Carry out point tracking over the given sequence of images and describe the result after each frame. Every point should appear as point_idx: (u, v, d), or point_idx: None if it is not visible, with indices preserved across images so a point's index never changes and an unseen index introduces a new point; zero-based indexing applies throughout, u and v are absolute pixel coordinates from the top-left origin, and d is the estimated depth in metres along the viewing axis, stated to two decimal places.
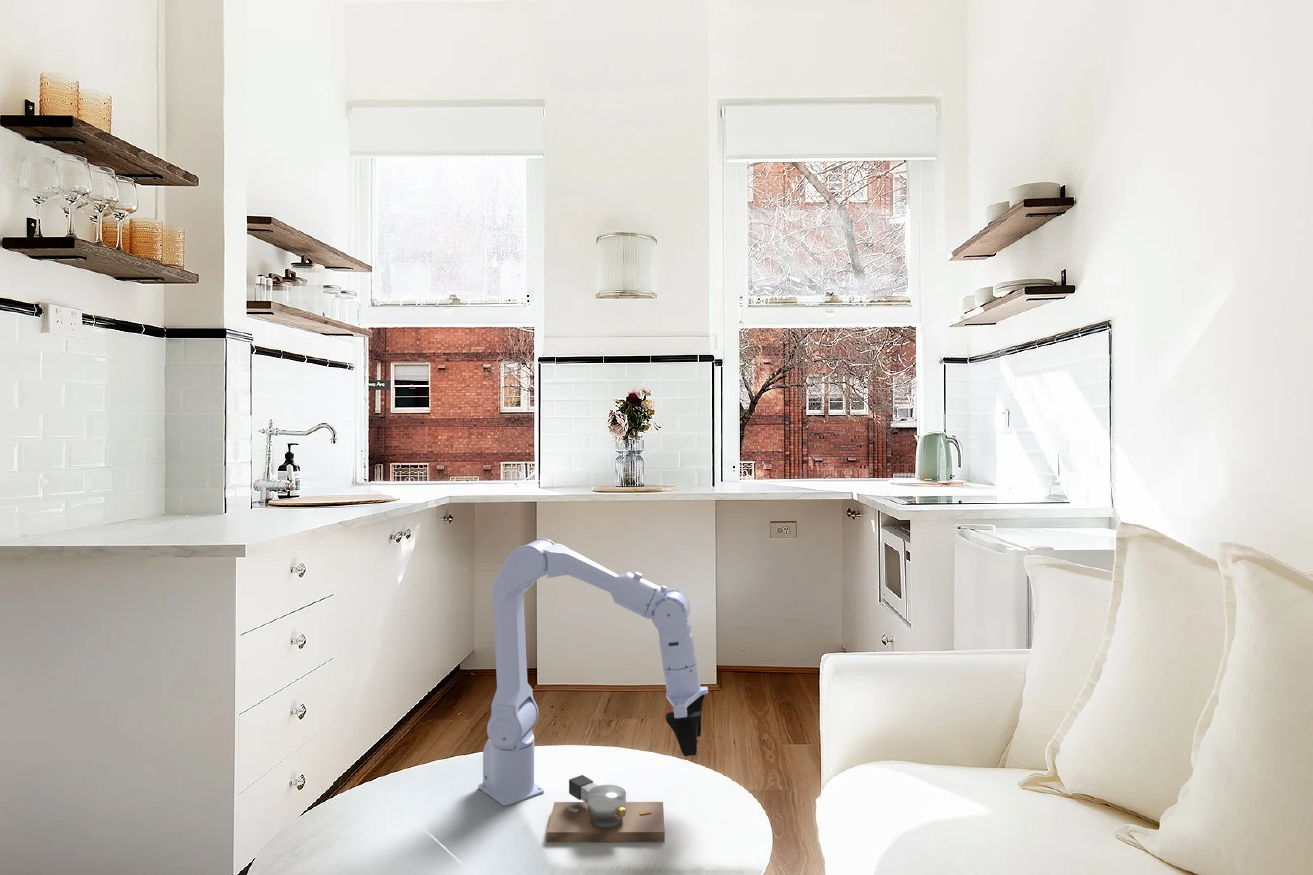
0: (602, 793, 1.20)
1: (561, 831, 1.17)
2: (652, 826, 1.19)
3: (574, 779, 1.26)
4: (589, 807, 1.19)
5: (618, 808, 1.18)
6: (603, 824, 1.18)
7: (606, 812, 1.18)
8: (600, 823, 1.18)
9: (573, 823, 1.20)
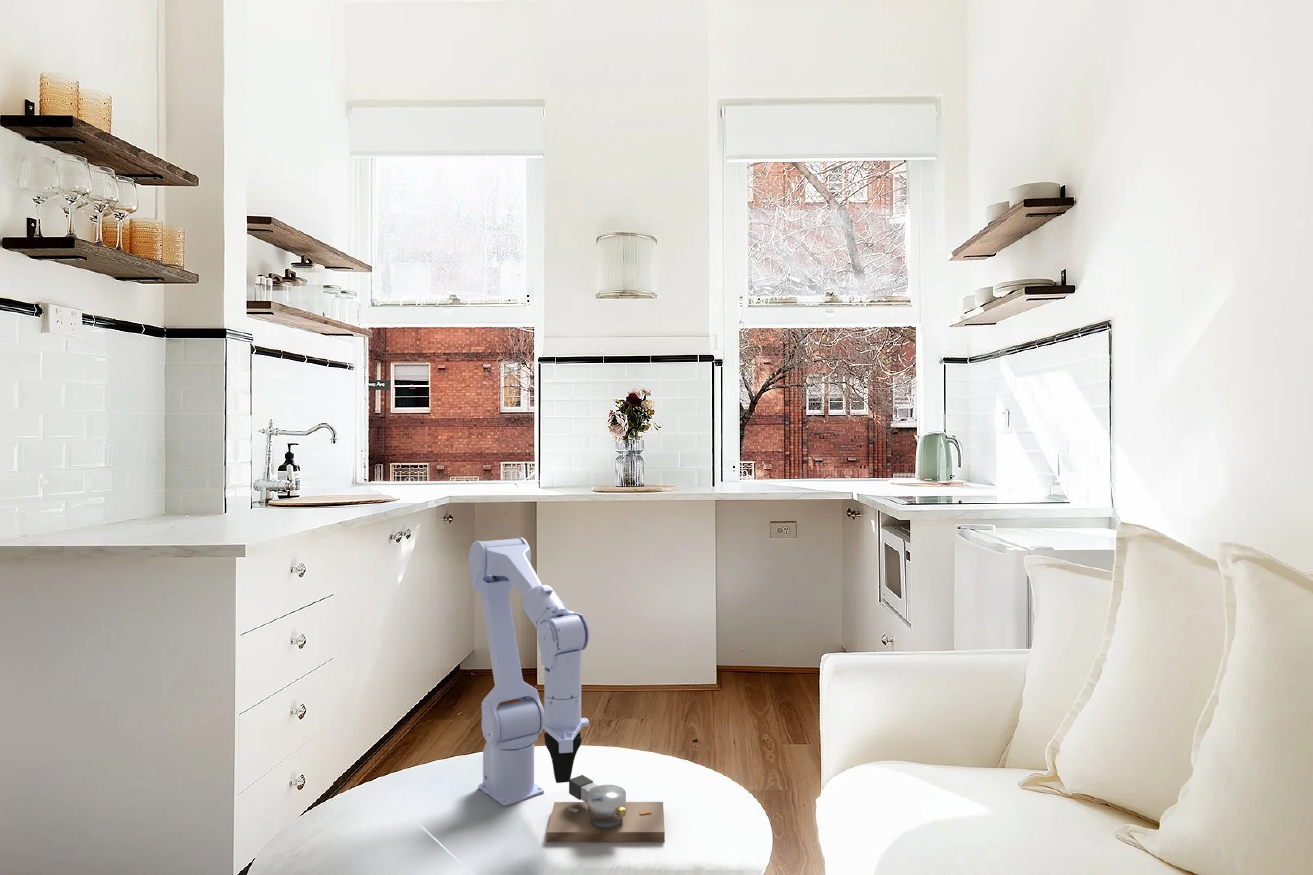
0: (602, 793, 1.20)
1: (561, 831, 1.17)
2: (652, 826, 1.19)
3: (574, 779, 1.26)
4: (589, 807, 1.19)
5: (618, 808, 1.18)
6: (603, 824, 1.18)
7: (606, 812, 1.18)
8: (600, 823, 1.18)
9: (573, 823, 1.20)
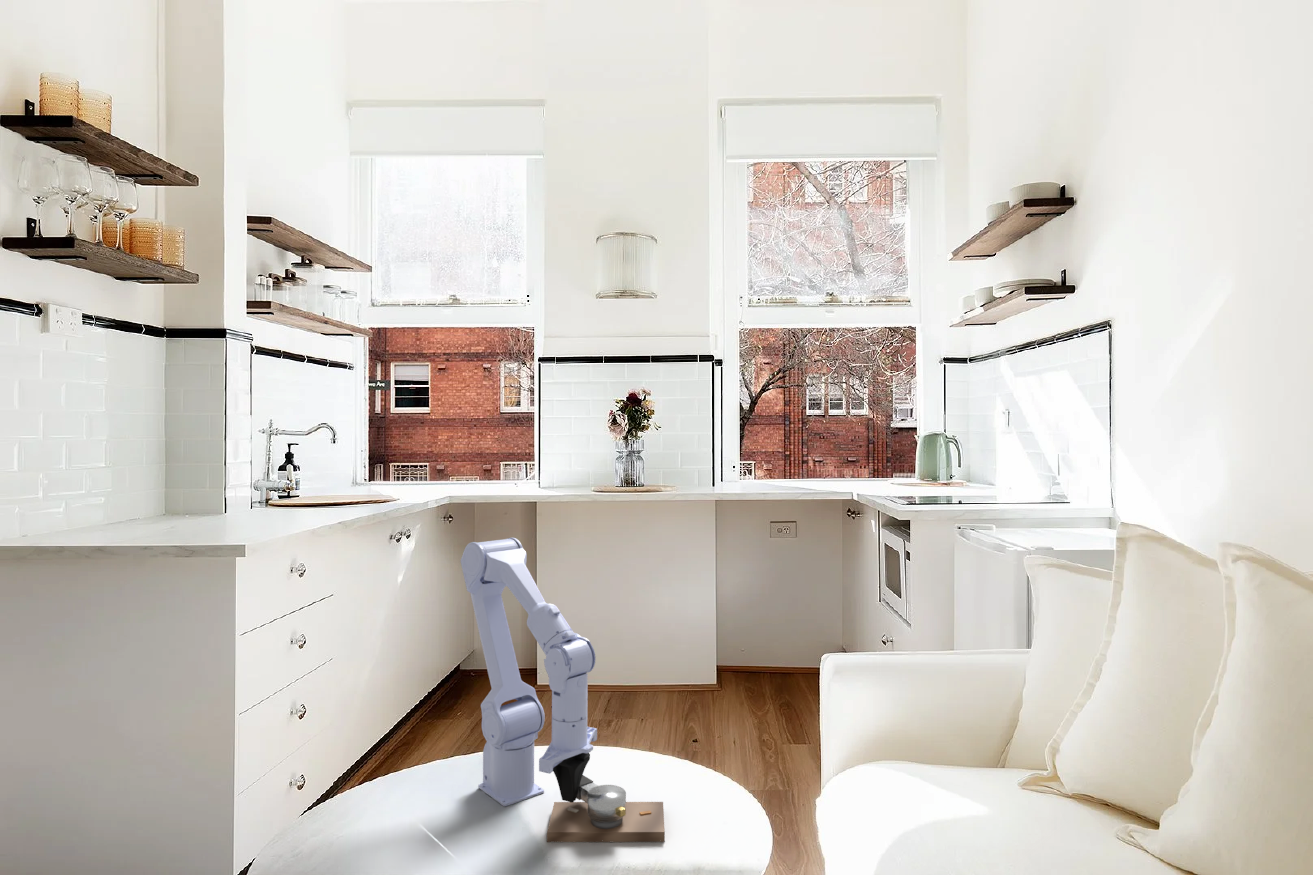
0: (602, 793, 1.20)
1: (561, 831, 1.17)
2: (652, 826, 1.19)
3: None
4: (589, 807, 1.19)
5: (618, 808, 1.18)
6: (603, 824, 1.18)
7: (606, 812, 1.18)
8: (600, 823, 1.18)
9: (573, 823, 1.20)
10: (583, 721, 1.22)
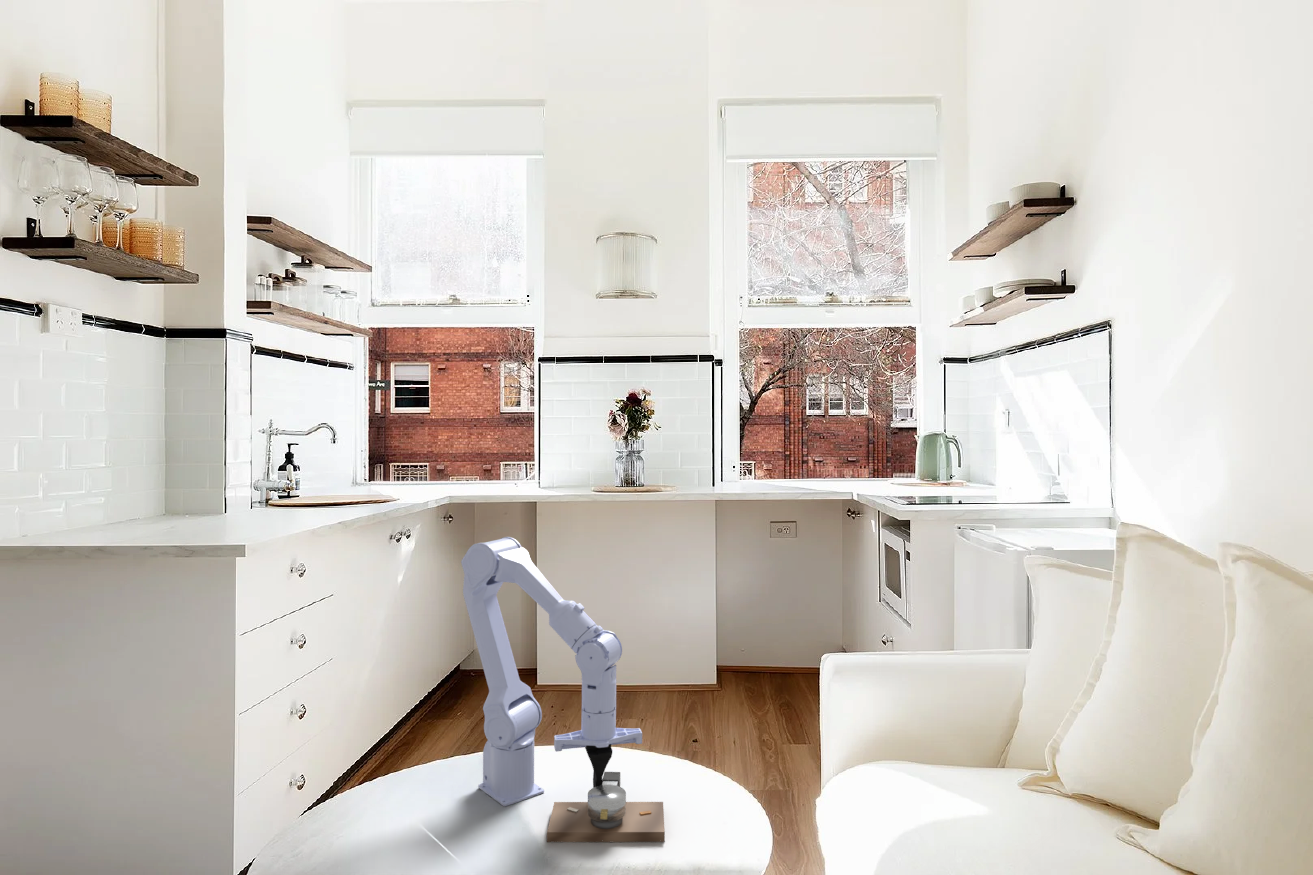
0: (603, 792, 1.21)
1: (561, 831, 1.17)
2: (652, 826, 1.19)
3: (608, 773, 1.28)
4: None
5: (601, 810, 1.17)
6: (603, 824, 1.18)
7: (593, 810, 1.18)
8: (600, 823, 1.18)
9: (573, 823, 1.20)
10: (599, 715, 1.24)
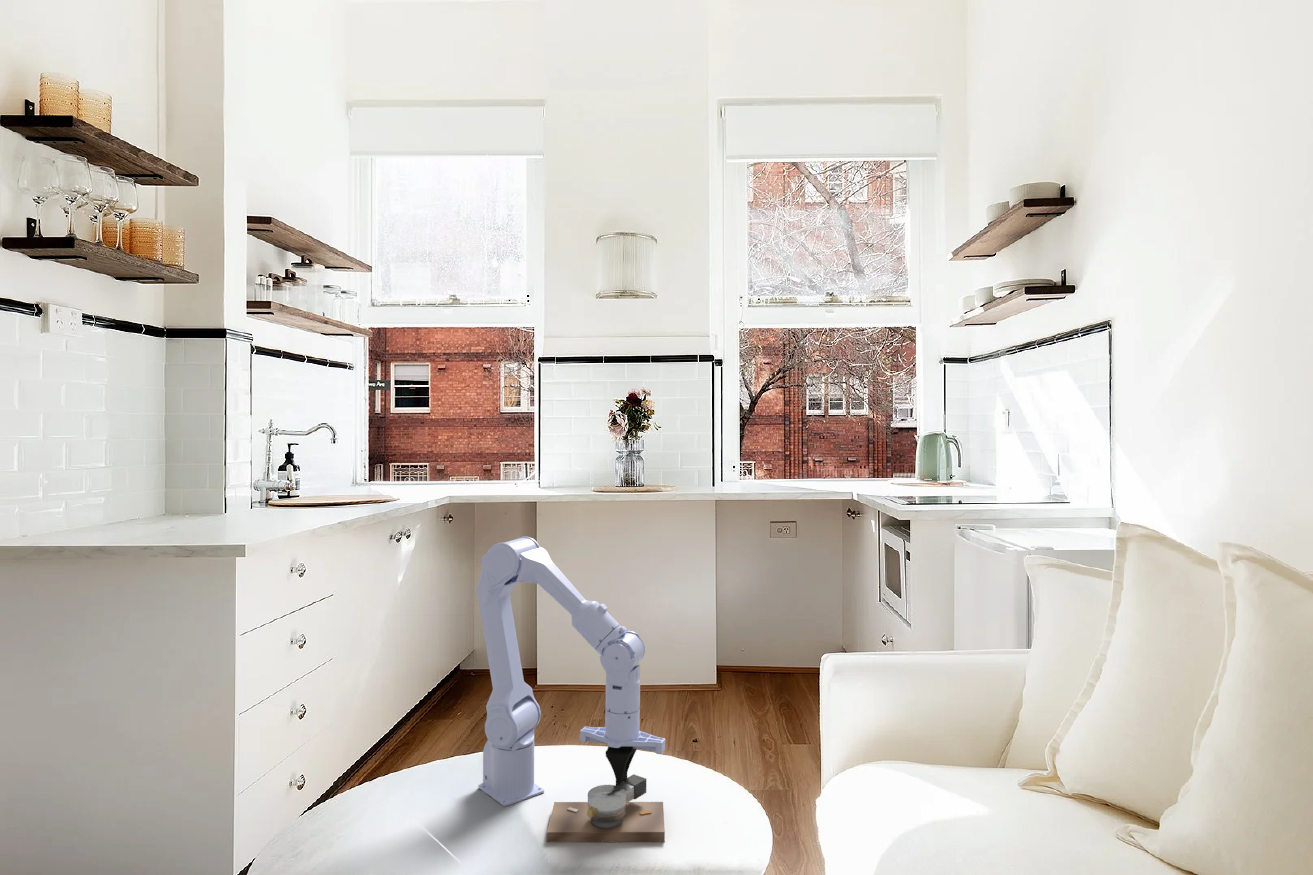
0: (606, 791, 1.21)
1: (561, 831, 1.17)
2: (652, 826, 1.19)
3: (634, 776, 1.27)
4: None
5: (590, 807, 1.18)
6: (603, 824, 1.18)
7: (588, 805, 1.20)
8: (600, 823, 1.18)
9: (573, 823, 1.20)
10: (614, 715, 1.24)
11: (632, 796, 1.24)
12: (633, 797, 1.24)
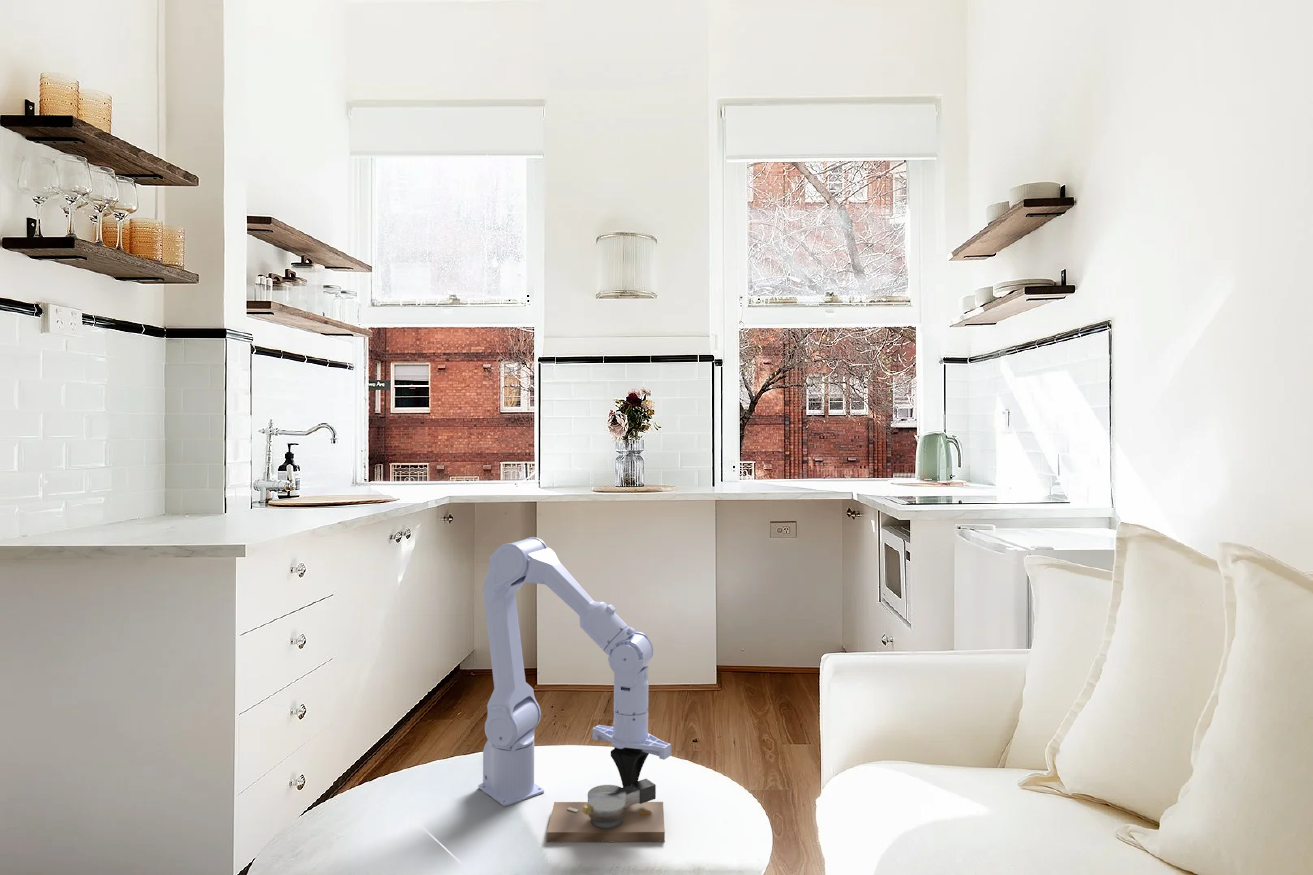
0: (607, 791, 1.21)
1: (561, 831, 1.17)
2: (652, 826, 1.19)
3: (645, 781, 1.26)
4: None
5: None
6: (603, 824, 1.18)
7: None
8: (600, 823, 1.18)
9: (573, 823, 1.20)
10: (619, 715, 1.24)
11: (637, 800, 1.22)
12: (638, 801, 1.23)
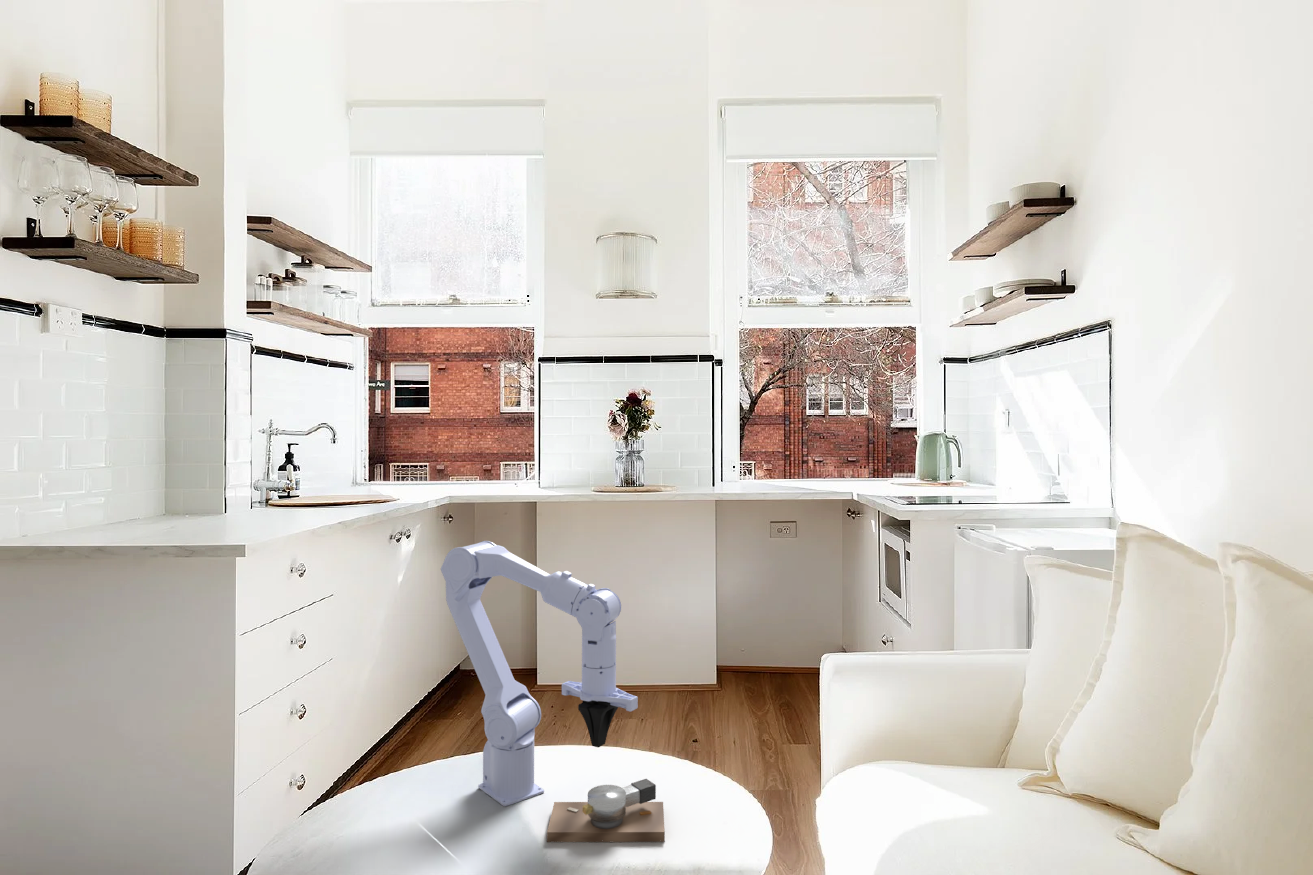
0: (607, 791, 1.21)
1: (561, 831, 1.17)
2: (652, 826, 1.19)
3: (645, 781, 1.26)
4: None
5: None
6: (603, 824, 1.18)
7: None
8: (600, 823, 1.18)
9: (573, 823, 1.20)
10: (586, 669, 1.26)
11: (637, 800, 1.22)
12: (638, 801, 1.23)
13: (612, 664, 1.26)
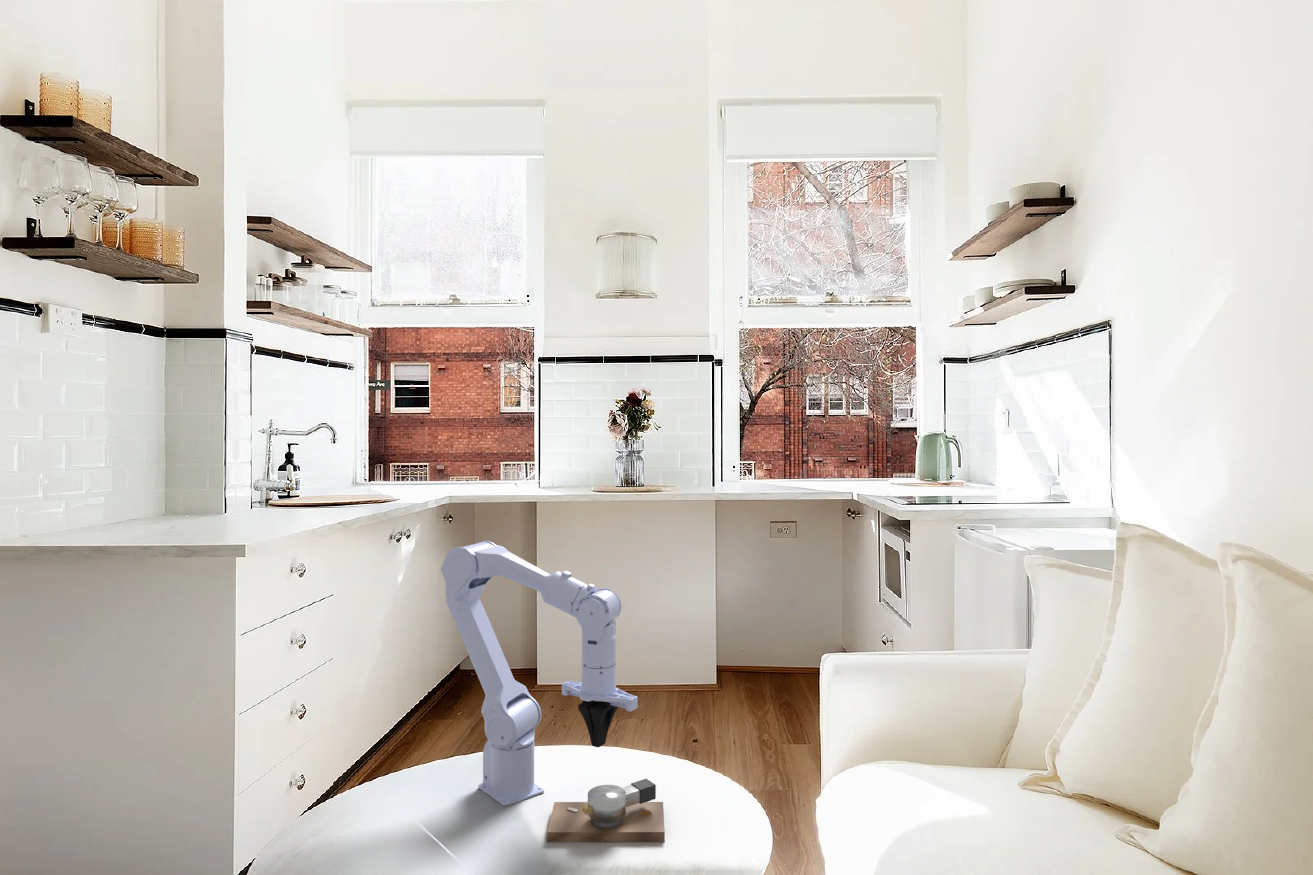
0: (607, 791, 1.21)
1: (561, 831, 1.17)
2: (652, 826, 1.19)
3: (645, 781, 1.26)
4: None
5: None
6: (603, 824, 1.18)
7: None
8: (600, 823, 1.18)
9: (573, 823, 1.20)
10: (586, 669, 1.26)
11: (637, 800, 1.22)
12: (638, 801, 1.23)
13: (612, 664, 1.26)
